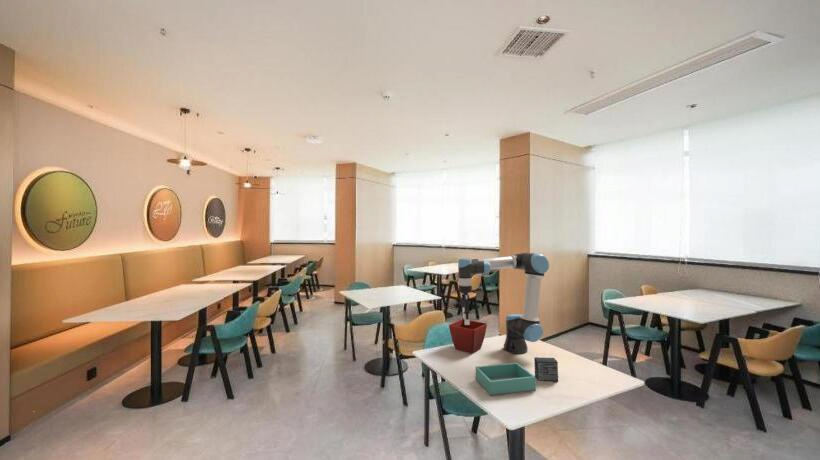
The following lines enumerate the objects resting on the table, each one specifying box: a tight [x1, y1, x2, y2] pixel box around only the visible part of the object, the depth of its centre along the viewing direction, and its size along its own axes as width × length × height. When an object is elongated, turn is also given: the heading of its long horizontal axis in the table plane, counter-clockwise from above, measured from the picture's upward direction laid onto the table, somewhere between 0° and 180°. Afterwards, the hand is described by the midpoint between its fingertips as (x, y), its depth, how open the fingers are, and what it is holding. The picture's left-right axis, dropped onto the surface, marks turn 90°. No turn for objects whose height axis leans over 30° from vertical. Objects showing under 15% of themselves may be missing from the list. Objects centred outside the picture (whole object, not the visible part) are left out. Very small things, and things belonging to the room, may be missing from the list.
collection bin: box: [475, 362, 537, 397], centre depth 169 cm, size 24×18×7 cm
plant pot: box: [448, 318, 488, 354], centre depth 221 cm, size 19×19×17 cm
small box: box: [533, 356, 559, 383], centre depth 176 cm, size 11×6×10 cm, turn 84°
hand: (466, 321), depth 193 cm, fingers open, 13 cm apart
